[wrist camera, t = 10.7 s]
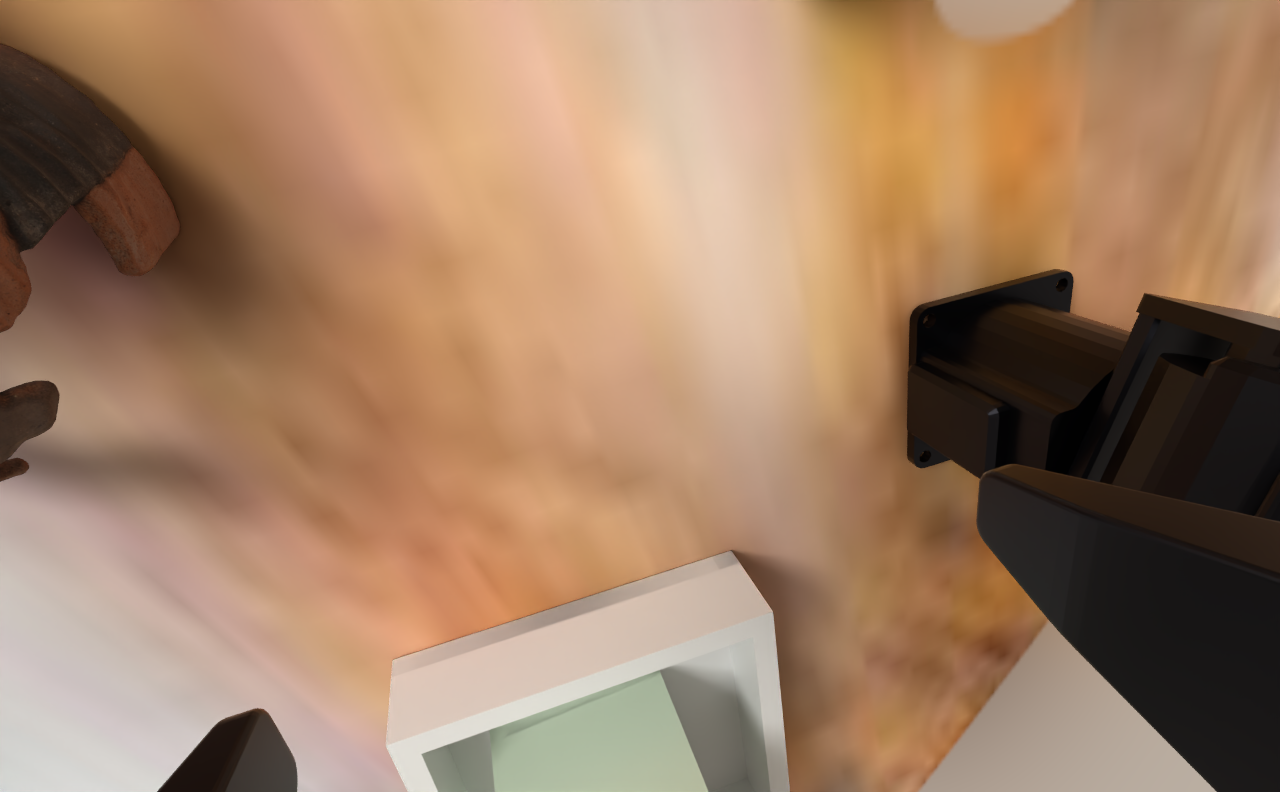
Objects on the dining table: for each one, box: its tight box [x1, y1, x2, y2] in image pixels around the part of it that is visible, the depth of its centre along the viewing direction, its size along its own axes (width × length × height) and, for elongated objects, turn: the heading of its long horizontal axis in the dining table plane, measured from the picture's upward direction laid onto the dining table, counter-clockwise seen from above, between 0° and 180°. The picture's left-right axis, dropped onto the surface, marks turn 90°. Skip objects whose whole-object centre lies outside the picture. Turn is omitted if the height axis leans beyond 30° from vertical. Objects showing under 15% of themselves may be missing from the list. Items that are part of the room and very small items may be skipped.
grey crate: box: [386, 551, 790, 792], centre depth 25 cm, size 13×13×4 cm
